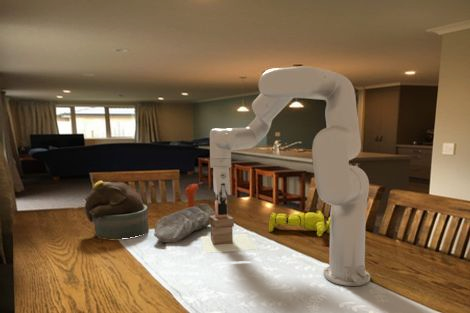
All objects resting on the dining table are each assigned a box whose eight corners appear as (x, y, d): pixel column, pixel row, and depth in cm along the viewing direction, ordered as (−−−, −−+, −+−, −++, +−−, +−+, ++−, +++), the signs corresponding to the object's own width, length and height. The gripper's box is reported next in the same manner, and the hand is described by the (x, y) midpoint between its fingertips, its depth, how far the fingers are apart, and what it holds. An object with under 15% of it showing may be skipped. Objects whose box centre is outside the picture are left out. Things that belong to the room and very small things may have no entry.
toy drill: (207, 204, 193) (206, 177, 190) (193, 217, 176) (191, 187, 173) (199, 204, 195) (197, 176, 192) (183, 216, 177) (181, 187, 174)
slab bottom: (232, 243, 132) (232, 235, 131) (213, 244, 130) (213, 236, 130) (229, 237, 138) (229, 230, 138) (210, 239, 137) (210, 231, 137)
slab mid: (232, 235, 131) (232, 227, 131) (213, 236, 130) (213, 228, 130) (229, 230, 138) (229, 222, 138) (210, 231, 137) (210, 223, 137)
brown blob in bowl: (72, 237, 143) (69, 182, 141) (119, 222, 165) (118, 174, 163) (115, 246, 132) (112, 186, 130) (159, 228, 154) (158, 177, 152)
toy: (264, 240, 138) (347, 252, 132) (266, 216, 137) (350, 227, 131) (273, 220, 167) (341, 229, 161) (275, 200, 166) (343, 208, 160)
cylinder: (228, 218, 132) (228, 201, 131) (216, 218, 131) (215, 202, 130) (226, 215, 136) (226, 199, 136) (214, 216, 135) (214, 200, 135)
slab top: (233, 226, 132) (233, 218, 132) (215, 228, 129) (215, 220, 129) (226, 221, 138) (226, 214, 138) (209, 223, 136) (208, 215, 135)
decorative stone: (189, 222, 164) (188, 200, 163) (219, 226, 158) (219, 203, 157) (143, 243, 135) (142, 217, 134) (178, 249, 129) (178, 221, 128)
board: (258, 251, 126) (258, 248, 126) (205, 255, 122) (205, 252, 122) (246, 235, 143) (246, 233, 143) (200, 238, 140) (200, 236, 140)
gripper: (235, 165, 124) (235, 217, 126) (226, 160, 141) (227, 207, 142) (213, 165, 123) (214, 219, 124) (207, 161, 140) (208, 208, 141)
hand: (221, 212), depth 133 cm, fingers open, 5 cm apart
